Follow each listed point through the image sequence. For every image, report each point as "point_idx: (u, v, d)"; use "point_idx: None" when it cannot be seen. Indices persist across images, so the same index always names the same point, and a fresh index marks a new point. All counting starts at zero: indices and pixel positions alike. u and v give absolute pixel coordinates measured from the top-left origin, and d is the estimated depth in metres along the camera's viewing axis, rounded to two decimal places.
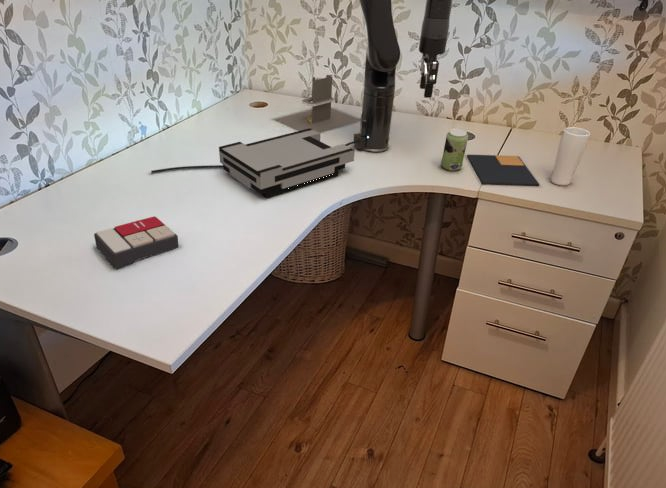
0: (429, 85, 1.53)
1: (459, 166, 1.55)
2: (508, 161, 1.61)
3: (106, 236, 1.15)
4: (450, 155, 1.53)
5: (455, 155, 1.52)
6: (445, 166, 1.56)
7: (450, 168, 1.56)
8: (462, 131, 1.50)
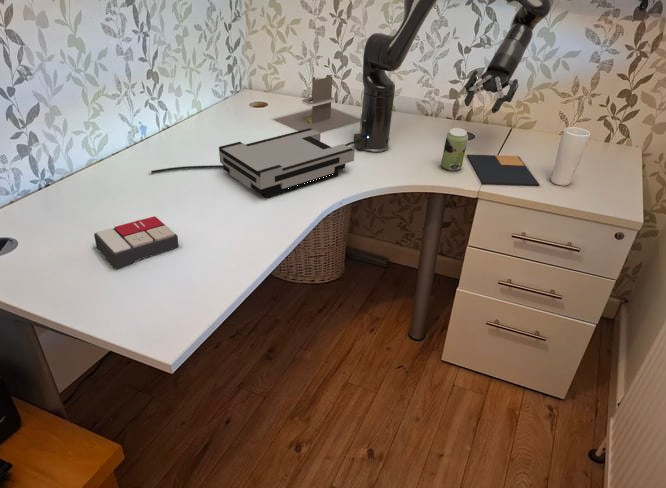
0: None
1: (459, 166, 1.55)
2: (508, 161, 1.61)
3: (106, 236, 1.15)
4: (450, 155, 1.53)
5: (455, 155, 1.52)
6: (445, 166, 1.56)
7: (450, 168, 1.56)
8: (462, 131, 1.50)
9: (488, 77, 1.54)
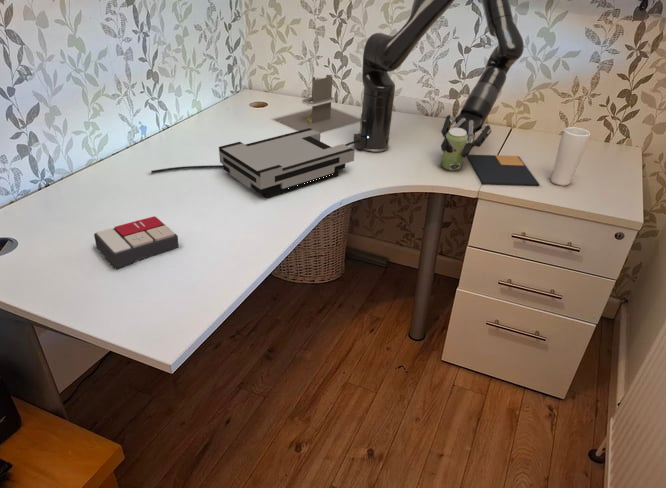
0: None
1: (459, 166, 1.55)
2: (508, 161, 1.61)
3: (106, 236, 1.15)
4: (450, 155, 1.53)
5: (455, 155, 1.52)
6: (445, 166, 1.56)
7: (450, 168, 1.55)
8: (462, 131, 1.50)
9: (462, 120, 1.52)
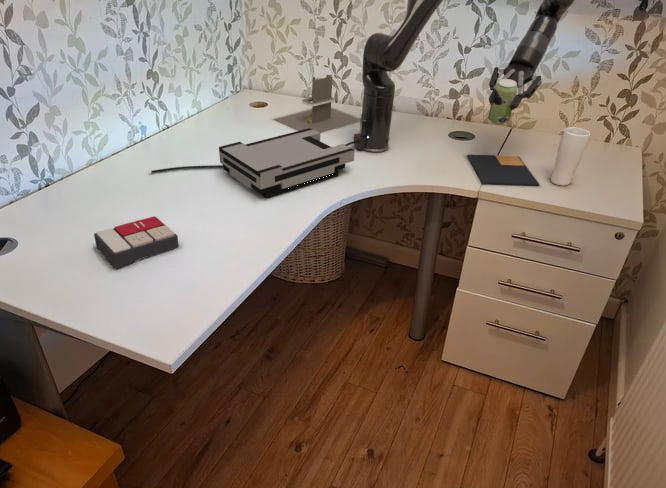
0: None
1: (507, 119, 1.51)
2: (508, 161, 1.61)
3: (106, 236, 1.15)
4: (499, 108, 1.49)
5: (504, 107, 1.48)
6: (492, 120, 1.52)
7: (498, 122, 1.51)
8: (511, 82, 1.46)
9: (511, 71, 1.48)
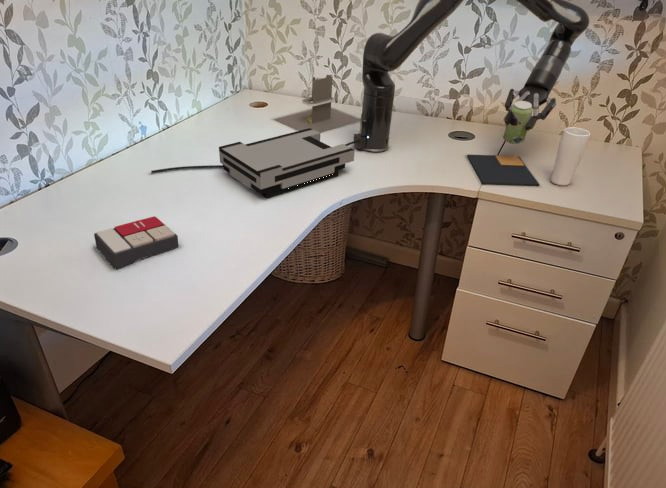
0: None
1: (522, 139, 1.57)
2: (508, 161, 1.61)
3: (106, 236, 1.15)
4: (514, 128, 1.54)
5: (519, 128, 1.53)
6: (508, 139, 1.57)
7: (513, 141, 1.57)
8: (527, 104, 1.52)
9: (526, 93, 1.54)
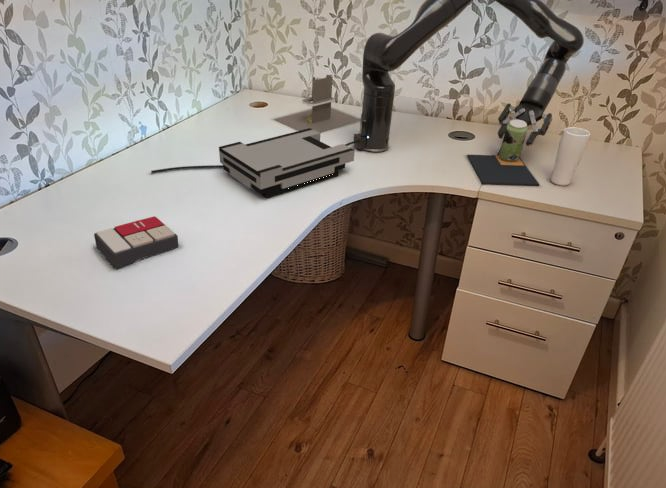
0: (502, 125, 1.60)
1: (517, 157, 1.60)
2: (508, 161, 1.61)
3: (106, 236, 1.15)
4: (510, 146, 1.57)
5: (514, 146, 1.57)
6: (503, 157, 1.61)
7: (508, 159, 1.60)
8: (522, 123, 1.55)
9: (522, 110, 1.56)
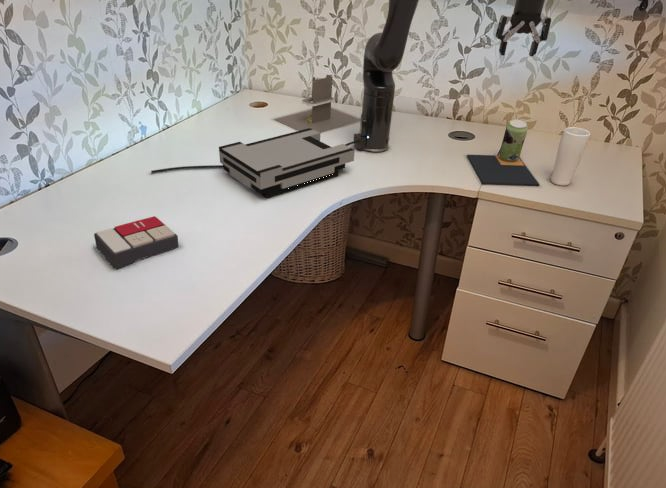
0: (501, 41, 1.54)
1: (517, 157, 1.60)
2: (508, 161, 1.61)
3: (106, 236, 1.15)
4: (510, 146, 1.57)
5: (514, 146, 1.57)
6: (503, 157, 1.61)
7: (508, 159, 1.60)
8: (522, 123, 1.55)
9: (521, 24, 1.50)
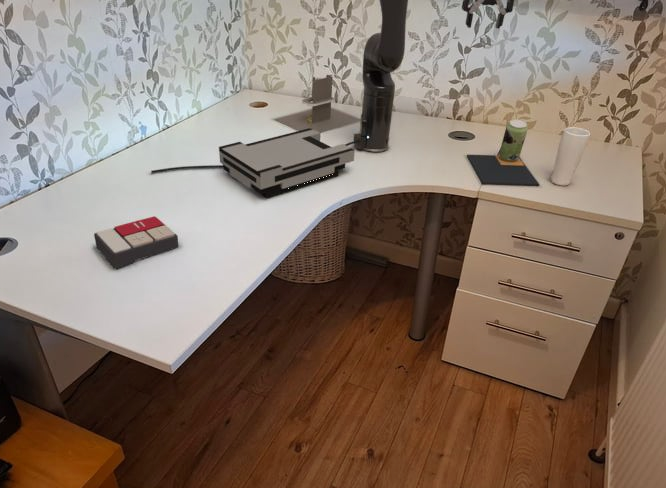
0: (467, 13, 1.55)
1: (517, 157, 1.60)
2: (508, 161, 1.61)
3: (106, 236, 1.15)
4: (510, 146, 1.57)
5: (514, 146, 1.57)
6: (503, 157, 1.61)
7: (508, 159, 1.60)
8: (522, 123, 1.55)
9: None
